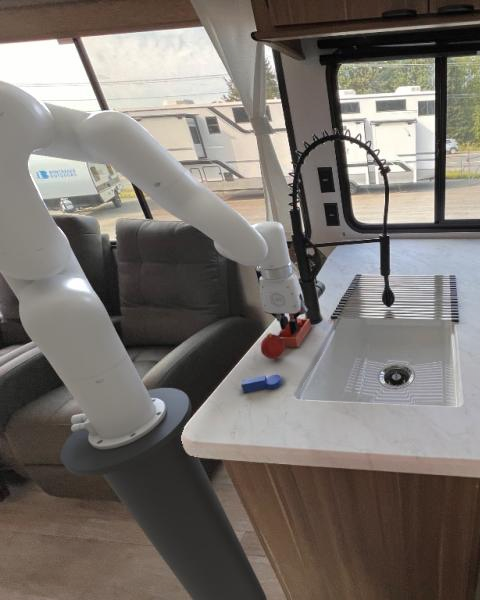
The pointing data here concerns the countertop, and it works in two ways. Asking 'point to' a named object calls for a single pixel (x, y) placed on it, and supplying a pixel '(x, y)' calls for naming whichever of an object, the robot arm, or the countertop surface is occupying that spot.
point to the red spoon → (288, 331)
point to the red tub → (296, 334)
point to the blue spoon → (261, 383)
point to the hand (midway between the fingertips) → (290, 330)
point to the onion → (272, 346)
